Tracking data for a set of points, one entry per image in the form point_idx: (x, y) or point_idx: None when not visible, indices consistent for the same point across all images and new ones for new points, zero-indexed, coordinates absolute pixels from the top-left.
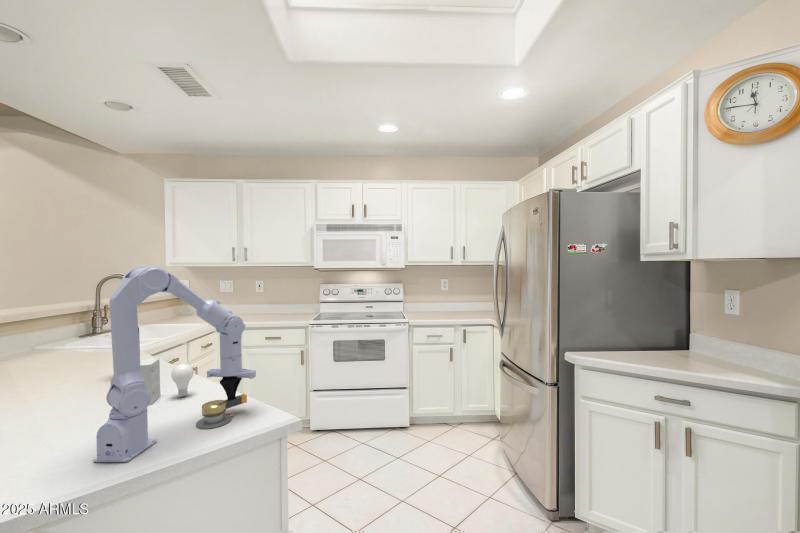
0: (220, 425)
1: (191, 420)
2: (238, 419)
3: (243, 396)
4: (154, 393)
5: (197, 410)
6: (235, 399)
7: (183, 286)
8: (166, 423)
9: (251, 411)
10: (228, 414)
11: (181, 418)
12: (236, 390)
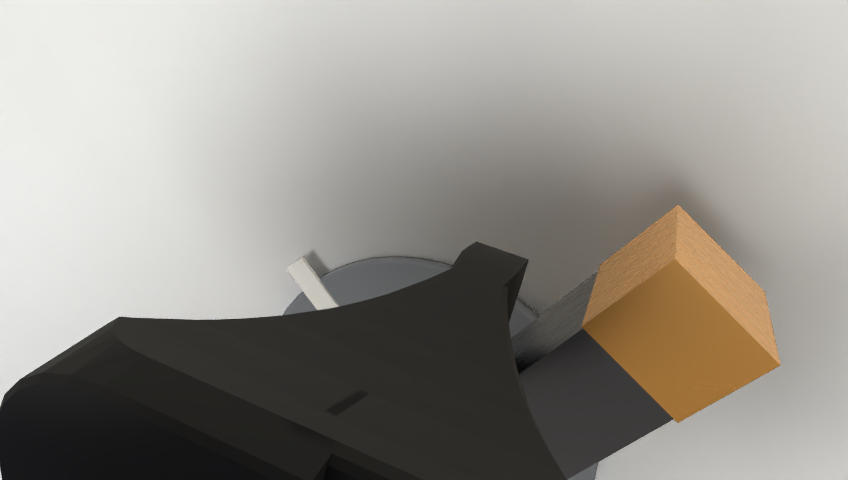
0: None
1: (193, 308)
2: (681, 444)
3: (711, 400)
4: None
5: (92, 50)
6: (579, 467)
7: None
8: (44, 308)
9: (826, 242)
10: (514, 318)
11: (83, 235)
12: (507, 329)
